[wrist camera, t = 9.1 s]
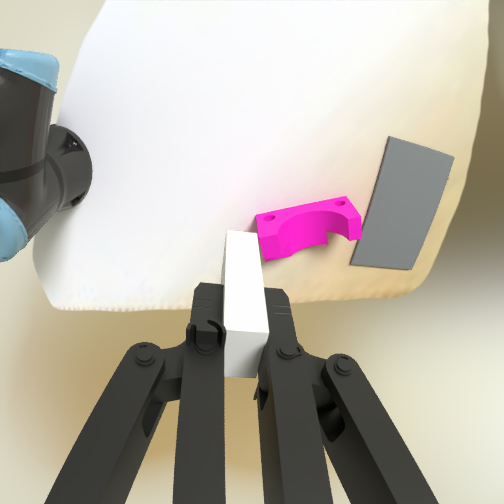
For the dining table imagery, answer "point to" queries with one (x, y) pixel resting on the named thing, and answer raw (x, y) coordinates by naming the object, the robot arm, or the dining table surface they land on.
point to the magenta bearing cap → (306, 226)
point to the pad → (402, 205)
